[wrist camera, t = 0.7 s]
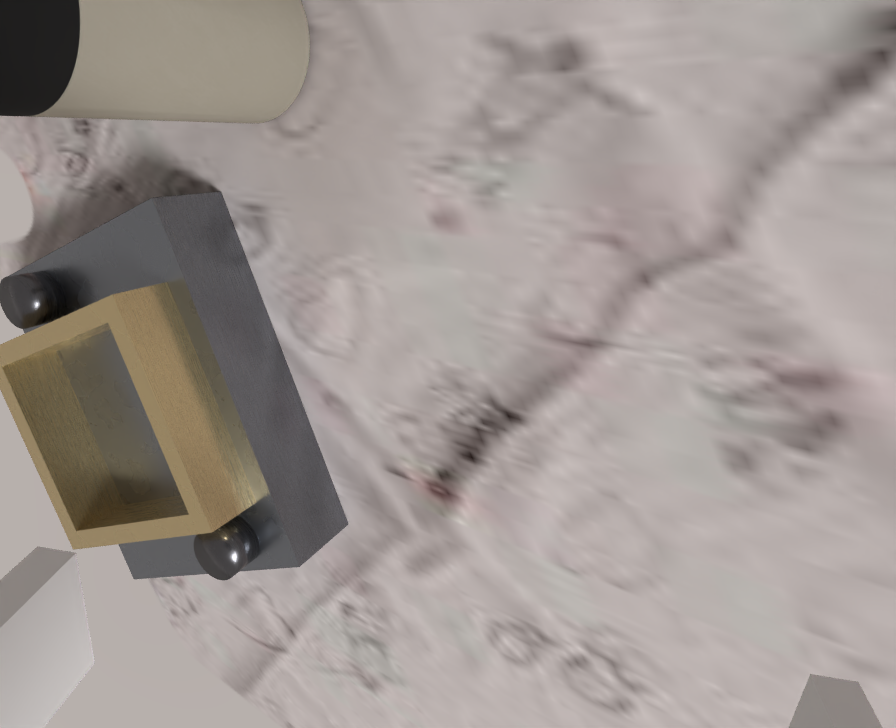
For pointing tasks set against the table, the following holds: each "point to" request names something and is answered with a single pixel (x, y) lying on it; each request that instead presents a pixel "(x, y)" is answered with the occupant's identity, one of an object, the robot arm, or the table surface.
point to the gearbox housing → (165, 398)
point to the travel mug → (152, 59)
